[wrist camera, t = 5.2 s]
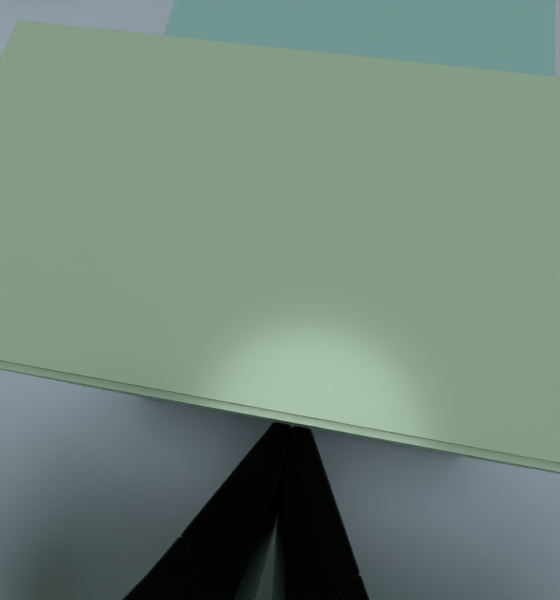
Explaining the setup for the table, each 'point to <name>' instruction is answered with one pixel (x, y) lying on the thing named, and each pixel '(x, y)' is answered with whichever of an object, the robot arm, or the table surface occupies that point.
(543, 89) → the green book
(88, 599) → the table surface
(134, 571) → the table surface
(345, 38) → the blue book
